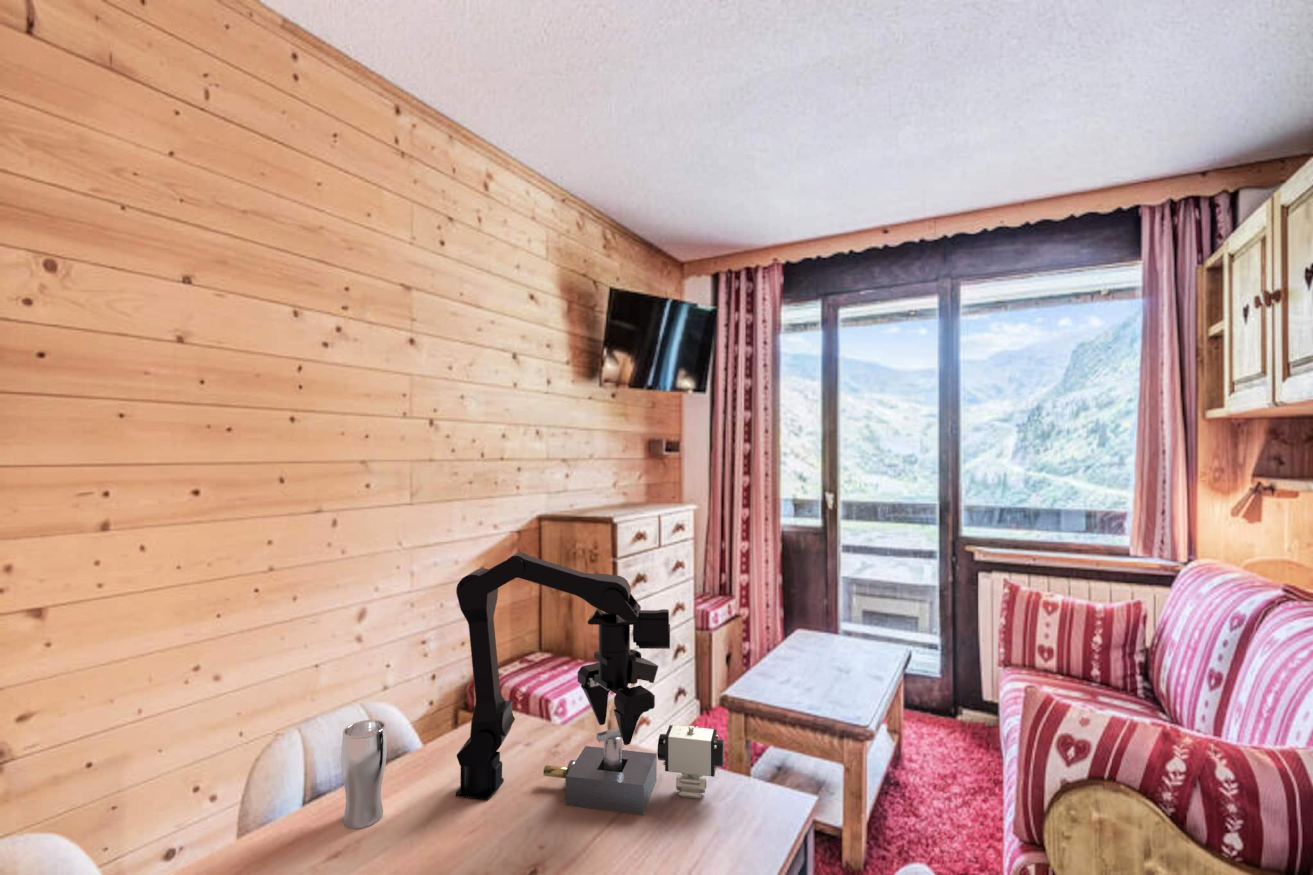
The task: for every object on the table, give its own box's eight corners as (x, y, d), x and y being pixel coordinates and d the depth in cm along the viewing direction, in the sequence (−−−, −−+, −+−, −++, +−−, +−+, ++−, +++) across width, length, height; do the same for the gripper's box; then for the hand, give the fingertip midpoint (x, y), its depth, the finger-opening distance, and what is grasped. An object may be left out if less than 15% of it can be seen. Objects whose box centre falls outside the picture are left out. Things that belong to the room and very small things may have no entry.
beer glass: (330, 825, 99) (331, 733, 100) (363, 802, 106) (365, 716, 106) (362, 834, 97) (364, 740, 97) (395, 810, 103) (396, 722, 104)
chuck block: (533, 800, 106) (533, 772, 107) (555, 768, 117) (556, 742, 117) (643, 815, 102) (643, 785, 103) (656, 780, 113) (656, 753, 113)
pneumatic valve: (722, 804, 106) (722, 735, 106) (656, 797, 108) (657, 729, 108) (725, 787, 111) (725, 721, 111) (662, 780, 113) (663, 716, 114)
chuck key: (602, 790, 106) (602, 738, 106) (594, 781, 109) (594, 731, 109) (631, 779, 110) (631, 729, 110) (622, 772, 112) (622, 722, 112)
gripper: (680, 653, 106) (680, 743, 106) (626, 627, 122) (626, 705, 122) (625, 666, 100) (625, 760, 100) (576, 637, 116) (576, 719, 116)
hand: (614, 734), depth 109 cm, fingers open, 9 cm apart
